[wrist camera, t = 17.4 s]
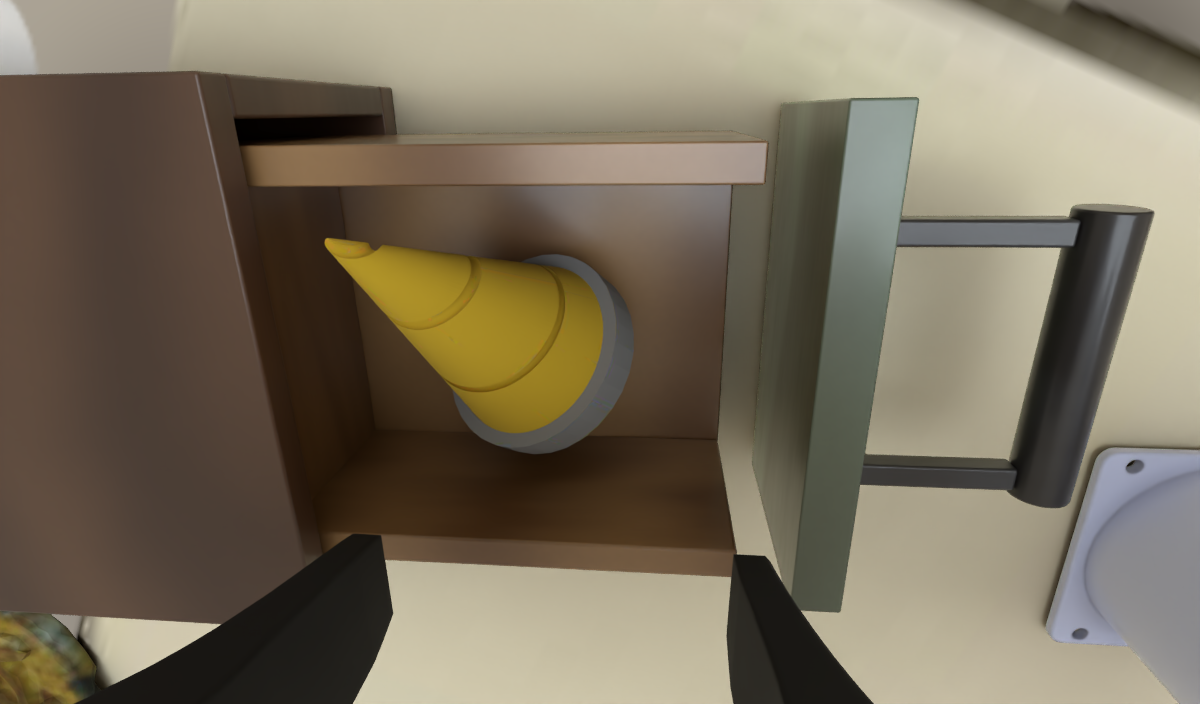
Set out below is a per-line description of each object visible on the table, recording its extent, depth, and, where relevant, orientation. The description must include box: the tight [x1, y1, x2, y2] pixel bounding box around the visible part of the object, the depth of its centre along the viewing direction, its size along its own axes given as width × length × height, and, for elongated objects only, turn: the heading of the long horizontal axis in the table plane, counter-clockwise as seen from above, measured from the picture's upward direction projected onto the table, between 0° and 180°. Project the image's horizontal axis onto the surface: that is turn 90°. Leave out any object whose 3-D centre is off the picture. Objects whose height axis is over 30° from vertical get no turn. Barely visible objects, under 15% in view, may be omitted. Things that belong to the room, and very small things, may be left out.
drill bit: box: [325, 238, 634, 454], centre depth 16 cm, size 5×5×10 cm
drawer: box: [238, 97, 1154, 613], centre depth 17 cm, size 20×11×7 cm, turn 90°
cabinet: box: [0, 71, 396, 624], centre depth 18 cm, size 16×13×9 cm
